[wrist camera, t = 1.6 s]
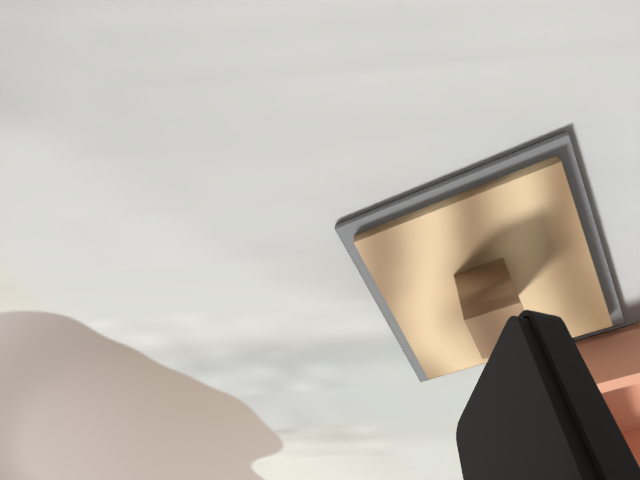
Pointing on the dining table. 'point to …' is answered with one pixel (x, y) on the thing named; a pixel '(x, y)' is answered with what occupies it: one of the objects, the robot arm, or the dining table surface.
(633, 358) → the dish
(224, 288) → the dining table surface
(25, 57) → the dining table surface
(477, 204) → the lid
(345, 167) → the dining table surface
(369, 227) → the mat
